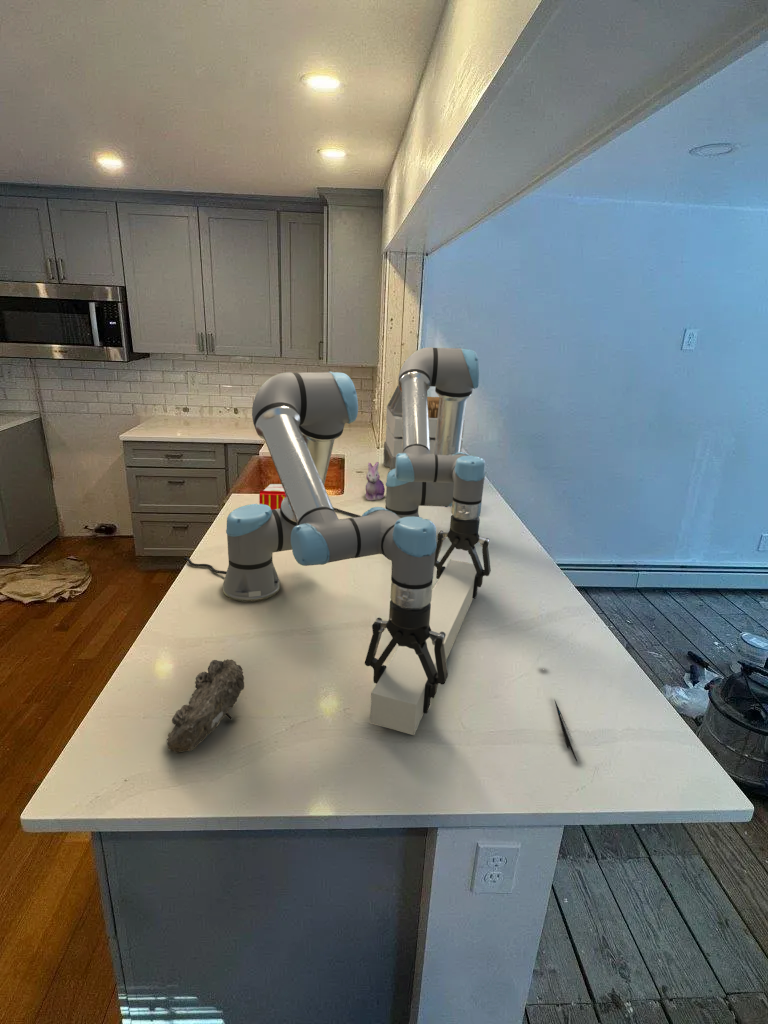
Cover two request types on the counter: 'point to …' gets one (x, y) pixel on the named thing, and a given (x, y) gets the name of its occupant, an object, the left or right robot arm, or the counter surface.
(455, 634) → the wide beam
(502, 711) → the counter surface
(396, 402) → the transformer
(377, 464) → the figurine
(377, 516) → the left robot arm
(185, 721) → the fossil
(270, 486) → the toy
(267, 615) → the counter surface
